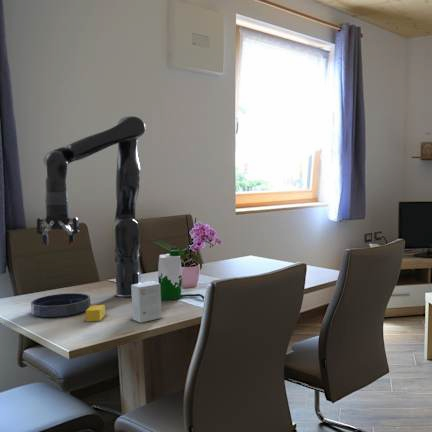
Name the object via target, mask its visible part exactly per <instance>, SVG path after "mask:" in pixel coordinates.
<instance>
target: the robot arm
mask: <svg viewBox="0 0 432 432" xmlns="http://www.w3.org/2000/svg"><path fill="white" fill-rule="evenodd" d="M145 131H146V124H145V121H144V120H142V119H141V118H140V117H138V116H135V115H134V116H133V115H129V116H124V117H122V118H120V119H119V120H118V122H117V125H115V126H112V127H111V128H109V129H105V130H104V131H100V132H98V133H95V134H92V135H88V136H85V137H82V138H80V139H78V140H75V141H74V142H73V141H72V142H71V143H70V144H67V145H65V146H62V147H58V148H56V149H53V150H51V151H49V152H46V153H45V155H44V156H43V158H42V162H43V165H44V166H45V167H46V177H45V199H44V200H45V201H44V202H45V218H43V217H38V218H37V219H36V234H37V235H41V236H42V243H43V244H44V245H45V246H48V245H49V244H50V239H49V238H50V237H49V236H50V235H49V233H50V231H52V230H64V231H66V232H67V234H68V245H73V244H74V243H75V234H78V233H80V224H79V223H80V222H79V218H78V217H70V213H69V211H70V209H69V195H68V184H67V173H68V172H67V171H68V165H69V164H71V163H73V162H76V161H80V160H83V159H86V158H88V157H90V156H92V155H94V154H96V153H99V152H100V151H103V150H105V149H107V148H109V147H112V146H115V145H116V144H117V146H118V147H117V157H116V170H115V197H116V208H115V215H114V221H113V227H112V228H113V232H114V241H115V243H114V245H115V246H114V262H115V263H114V266H115V292H116V293H115V296H116V297H119V298H132V291H131V285H133V284H139V283H144V282H145V281H142V271H141V269H140V247H141V246H140V245H141V244H140V239H141V238H140V237H141V236H140V225H139V223H138V222H137V217H136V205H137V199H138V196H139V192H140V186H141V165H140V162H139V161H140V160H139V157H138V138H140V137H142V136H143V135H144V134H145ZM70 222H71V224H72V226H73V228H72V227H71V225H69V223H70ZM45 223H46V224H47V226H46V227H45V229H44V227H43V226H44V224H45ZM43 229H44V230H43ZM185 297H201V298H202V299H203V300H204V297H205V296H204V295H203V294H201V293H193V294H192V293H188V294H187V293H186V294H181V296H180V298H185ZM161 300H162V298H161Z"/></svg>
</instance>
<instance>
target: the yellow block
mask: <svg viewBox="0 0 432 432" xmlns="http://www.w3.org/2000/svg"><path fill="white" fill-rule="evenodd" d="M105 316H106V305H105V304H93V305H92V304H90V307H89V308H88V309H87V310H86V311H85V322H100V321H101V320H103V318H104V317H105Z"/></svg>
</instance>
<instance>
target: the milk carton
mask: <svg viewBox="0 0 432 432" xmlns="http://www.w3.org/2000/svg"><path fill="white" fill-rule="evenodd" d="M181 259H182V254H181V250H180V249H170V250H169V253H166V254H165V253H164V254H159V256H158V266H157V275H158V276H157V277H158V278H157V279H158V283H160V286H161V298H162V299H161V301H170V300H181V297H180V296H181V295H182V287H183V280H182V278H183V276H182V275H183V274H182V273H183V272H182V269H183V268H182V260H181Z"/></svg>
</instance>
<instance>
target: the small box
mask: <svg viewBox="0 0 432 432" xmlns="http://www.w3.org/2000/svg"><path fill="white" fill-rule="evenodd" d="M143 282H144V283H139V284H133V285H131V291H132V296H131V312H132V320H133V321H135V322H138V323H141V324H142V323H146V322H149V321H153V320H158V319H162V318H163V317H162V299H161V286H160V283H159V282H157V281H153V280H151V281H143Z"/></svg>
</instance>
